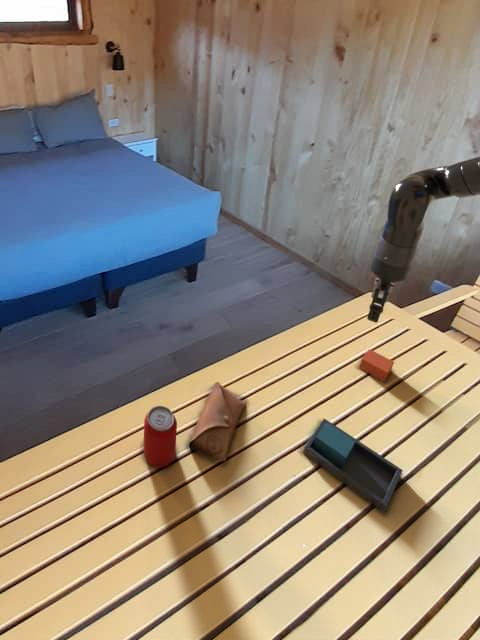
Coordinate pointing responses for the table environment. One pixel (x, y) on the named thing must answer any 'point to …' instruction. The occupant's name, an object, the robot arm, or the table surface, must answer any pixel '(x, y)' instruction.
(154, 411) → the beverage can
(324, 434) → the pad
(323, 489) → the table surface
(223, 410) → the sunglasses case
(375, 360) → the loose pad
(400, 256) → the robot arm
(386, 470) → the frame
